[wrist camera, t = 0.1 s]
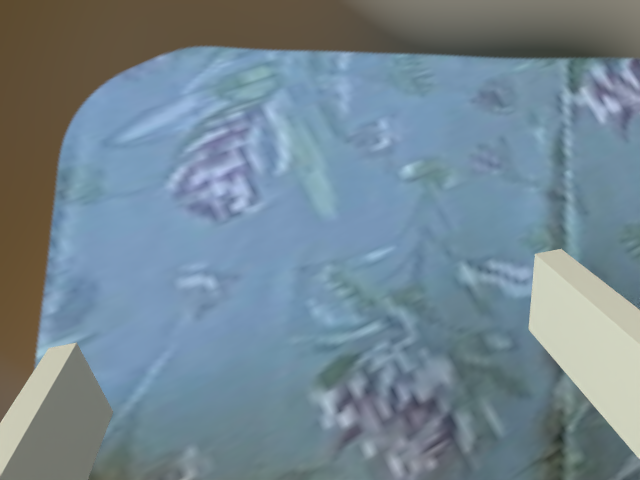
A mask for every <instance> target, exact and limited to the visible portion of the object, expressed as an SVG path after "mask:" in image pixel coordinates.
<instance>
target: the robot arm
mask: <svg viewBox="0 0 640 480" xmlns="http://www.w3.org/2000/svg"><path fill="white" fill-rule="evenodd" d="M529 330H530V331H531V333H532V334H533V335H534V336H535V337H536V338H537V340H538V341H539V342H540V343H541V344H542V345H543V347H544V348H545V349H546V350H547V351H548V353H549V354H550V355H551V356H552V357H553V358H554V360H555V361H556V362H557V363H558V364H559V365H560V367H561V368H562V369H563V370H564V371H565V372H566V374H567V375H568V376H569V377H570V378H571V379H572V381H573V382H574V383H575V384H576V385H577V386H578V388H579V389H580V390H581V391H582V392H583V394H584V395H585V396H586V397H587V398H588V399H589V401H590V402H591V403H592V404H593V405H594V406H595V408H596V409H597V410H598V411H599V412H600V413H601V415H602V416H603V417H604V418H605V419H606V420H607V422H608V423H609V424H610V425H611V426H612V427H613V429H614V430H615V431H616V432H617V433H618V435H619V436H620V437H621V438H622V439H623V440H624V442H625V443H626V444H627V445H628V446H629V447H630V449H631V450H632V451H633V452H634V453H635V454H636V456H637V457H638V458H639V459H640V310H639V309H638V308H636V307H635V306H634V305H633V304H631V303H630V302H629V301H627V300H626V299H625V298H624V297H622V296H621V295H620V294H618V293H617V292H616V291H615V290H613V289H612V288H611V287H609V286H608V285H607V284H605V283H604V282H603V281H602V280H600V279H599V278H598V277H596V276H595V275H594V274H593V273H591V272H590V271H589V270H587V269H586V268H585V267H584V266H582V265H581V264H580V263H578V262H577V261H576V260H575V259H573V258H572V257H571V256H569V255H568V254H567V253H565V252H564V251H563V250H562V249H559V250H553V251H548V252H543V253H538V254H535V262H534V273H533V285H532V296H531V308H530V319H529ZM112 414H113V411H112V409H111V407H110V405H109V403H108V401H107V399H106V397H105V395H104V393H103V392H102V390H101V388H100V386H99V384H98V382H97V380H96V378H95V376H94V374H93V373H92V371H91V369H90V367H89V365H88V363H87V361H86V359H85V357H84V356H83V354H82V352H81V350H80V348H79V346H78V344H77V343H73V344H67V345H62V346H57V347H52V348H49V349H48V350H47V352H46V353H45V355H44V357H43V358H42V360H41V361H40V363H39V364H38V366H37V367H36V369H35V370H34V372H33V374H32V375H31V377H30V378H29V380H28V381H27V383H26V384H25V386H24V387H23V389H22V391H21V392H20V393H19V395H18V397H17V398H16V400H15V401H14V403H13V404H12V406H11V407H10V409H9V410H8V412H7V414H6V415H5V417H4V418H3V420H2V421H1V423H0V480H88V477H89V474H90V472H91V469H92V467H93V464H94V461H95V459H96V456H97V453H98V451H99V448H100V446H101V443H102V440H103V438H104V435H105V432H106V430H107V427H108V425H109V422H110V419H111V417H112Z"/></svg>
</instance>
